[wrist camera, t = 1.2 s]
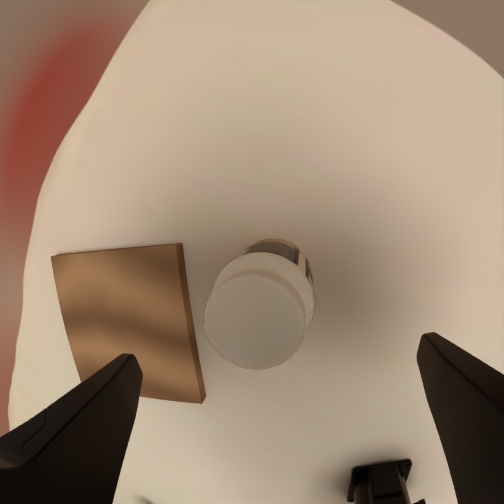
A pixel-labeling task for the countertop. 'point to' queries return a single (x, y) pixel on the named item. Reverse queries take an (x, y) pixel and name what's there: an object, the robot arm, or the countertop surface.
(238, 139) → the countertop surface
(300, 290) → the pill bottle
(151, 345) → the plinth
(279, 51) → the countertop surface
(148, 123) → the countertop surface
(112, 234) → the countertop surface
